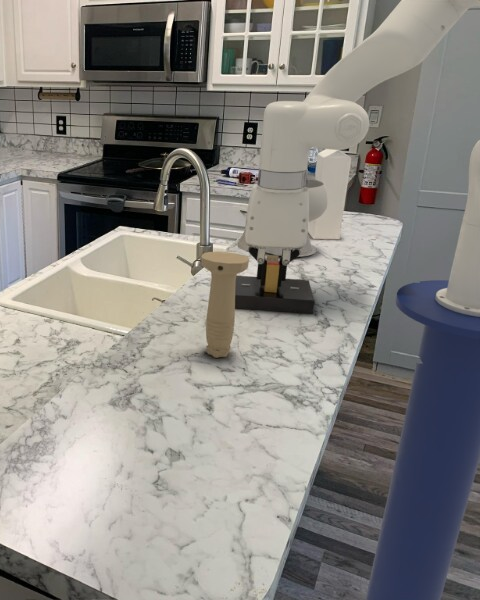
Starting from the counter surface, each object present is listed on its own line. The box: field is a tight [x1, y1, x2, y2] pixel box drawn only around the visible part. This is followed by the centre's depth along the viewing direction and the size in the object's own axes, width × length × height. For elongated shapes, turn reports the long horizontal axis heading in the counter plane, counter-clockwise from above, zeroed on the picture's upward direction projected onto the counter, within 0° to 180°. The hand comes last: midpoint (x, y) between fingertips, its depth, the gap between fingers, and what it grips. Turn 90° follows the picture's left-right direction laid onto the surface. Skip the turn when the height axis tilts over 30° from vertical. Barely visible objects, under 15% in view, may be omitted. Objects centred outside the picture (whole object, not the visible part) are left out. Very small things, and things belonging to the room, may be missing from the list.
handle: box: [200, 251, 250, 359], centre depth 88 cm, size 5×6×15 cm
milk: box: [308, 149, 352, 240], centre depth 141 cm, size 6×6×22 cm
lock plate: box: [235, 275, 315, 315], centre depth 109 cm, size 14×10×3 cm
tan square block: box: [264, 254, 280, 293], centre depth 107 cm, size 6×2×5 cm, turn 166°
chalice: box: [265, 180, 327, 258], centre depth 133 cm, size 14×14×15 cm
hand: (270, 283), depth 108 cm, fingers closed on tan square block, 2 cm apart
